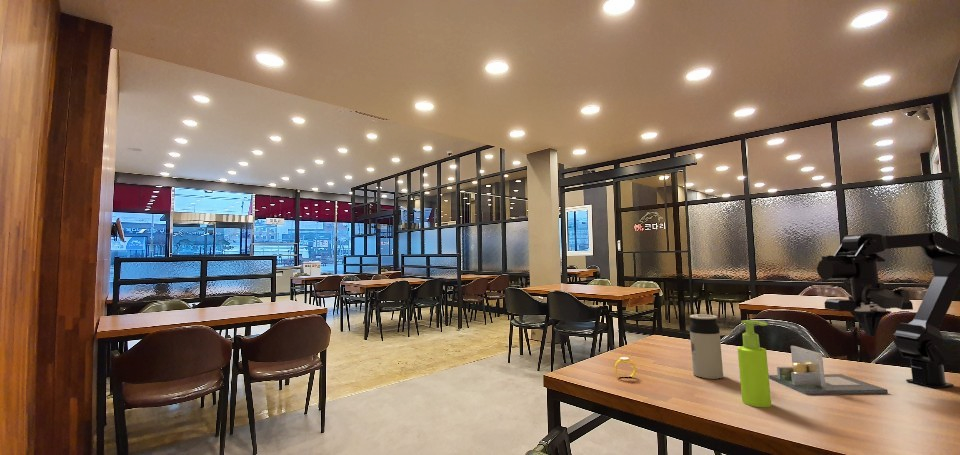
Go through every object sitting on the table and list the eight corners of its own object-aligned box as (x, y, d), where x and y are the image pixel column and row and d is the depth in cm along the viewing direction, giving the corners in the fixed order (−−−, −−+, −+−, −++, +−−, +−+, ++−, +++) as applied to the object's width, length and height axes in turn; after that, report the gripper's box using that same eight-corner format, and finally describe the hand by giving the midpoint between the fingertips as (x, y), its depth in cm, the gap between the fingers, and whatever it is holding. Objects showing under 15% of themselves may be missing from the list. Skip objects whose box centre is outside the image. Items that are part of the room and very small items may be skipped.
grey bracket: (797, 375, 113) (794, 345, 114) (825, 386, 103) (822, 353, 104) (773, 376, 114) (770, 346, 114) (799, 387, 104) (796, 354, 104)
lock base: (841, 377, 114) (838, 356, 115) (888, 393, 100) (885, 369, 101) (769, 378, 115) (767, 357, 116) (805, 394, 102) (803, 370, 102)
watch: (617, 379, 120) (614, 359, 121) (615, 377, 123) (612, 357, 123) (637, 378, 119) (634, 358, 120) (635, 376, 122) (632, 356, 122)
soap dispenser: (767, 410, 92) (759, 323, 94) (737, 401, 98) (730, 320, 100) (781, 405, 95) (773, 321, 96) (750, 397, 101) (743, 317, 103)
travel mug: (723, 374, 121) (718, 314, 123) (723, 381, 115) (717, 318, 116) (694, 371, 126) (689, 313, 127) (692, 377, 119) (687, 316, 120)
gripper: (854, 281, 102) (861, 342, 101) (931, 279, 101) (939, 341, 100) (820, 279, 113) (826, 334, 112) (889, 277, 112) (895, 333, 111)
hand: (871, 336), depth 108 cm, fingers closed
